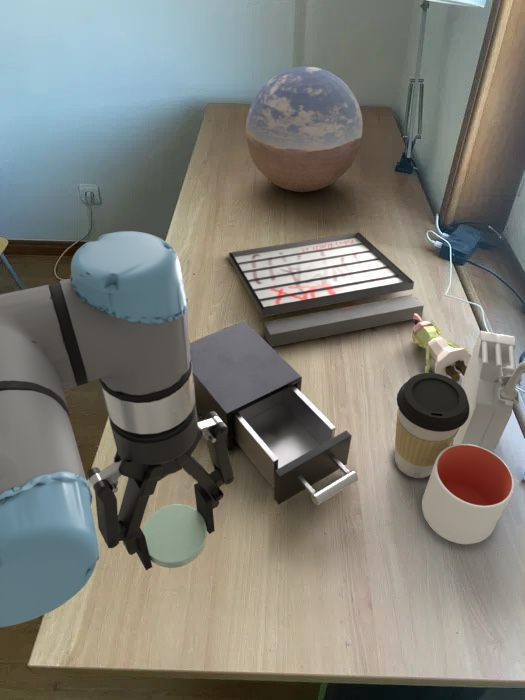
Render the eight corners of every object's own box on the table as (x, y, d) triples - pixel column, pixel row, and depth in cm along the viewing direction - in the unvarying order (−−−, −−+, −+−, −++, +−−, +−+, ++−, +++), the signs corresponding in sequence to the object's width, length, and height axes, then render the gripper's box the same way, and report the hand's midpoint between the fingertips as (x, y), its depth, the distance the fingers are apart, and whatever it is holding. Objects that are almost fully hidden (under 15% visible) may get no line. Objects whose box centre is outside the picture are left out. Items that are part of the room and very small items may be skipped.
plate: (161, 585, 60) (159, 575, 59) (133, 534, 65) (130, 523, 63) (219, 550, 63) (218, 540, 62) (189, 503, 68) (187, 493, 66)
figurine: (485, 374, 98) (438, 326, 109) (481, 347, 93) (432, 299, 104) (441, 398, 98) (399, 346, 109) (435, 372, 93) (391, 321, 104)
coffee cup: (445, 440, 90) (469, 374, 80) (449, 493, 83) (476, 427, 72) (383, 432, 91) (398, 365, 81) (382, 482, 84) (399, 416, 74)
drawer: (369, 488, 82) (375, 459, 77) (299, 531, 77) (302, 503, 72) (286, 401, 95) (287, 371, 90) (222, 433, 89) (220, 404, 85)
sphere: (312, 154, 170) (320, 45, 150) (378, 194, 152) (396, 75, 131) (226, 177, 158) (222, 62, 138) (286, 224, 140) (290, 98, 120)
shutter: (231, 280, 131) (271, 353, 106) (228, 252, 127) (268, 322, 102) (358, 253, 137) (424, 316, 112) (359, 226, 133) (427, 286, 108)
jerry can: (487, 486, 83) (545, 365, 66) (452, 479, 84) (501, 358, 67) (484, 411, 94) (533, 291, 77) (453, 405, 95) (495, 285, 78)
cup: (415, 483, 84) (429, 441, 77) (483, 487, 83) (503, 445, 77) (425, 546, 76) (442, 505, 70) (500, 550, 76) (524, 510, 69)
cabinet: (299, 414, 94) (302, 376, 88) (228, 451, 88) (226, 414, 82) (244, 356, 104) (244, 320, 98) (178, 386, 98) (173, 349, 92)
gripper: (228, 339, 55) (233, 477, 70) (21, 425, 47) (78, 561, 62) (272, 385, 50) (267, 522, 66) (51, 490, 42) (104, 619, 57)
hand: (175, 540), depth 64 cm, fingers closed on plate, 7 cm apart
